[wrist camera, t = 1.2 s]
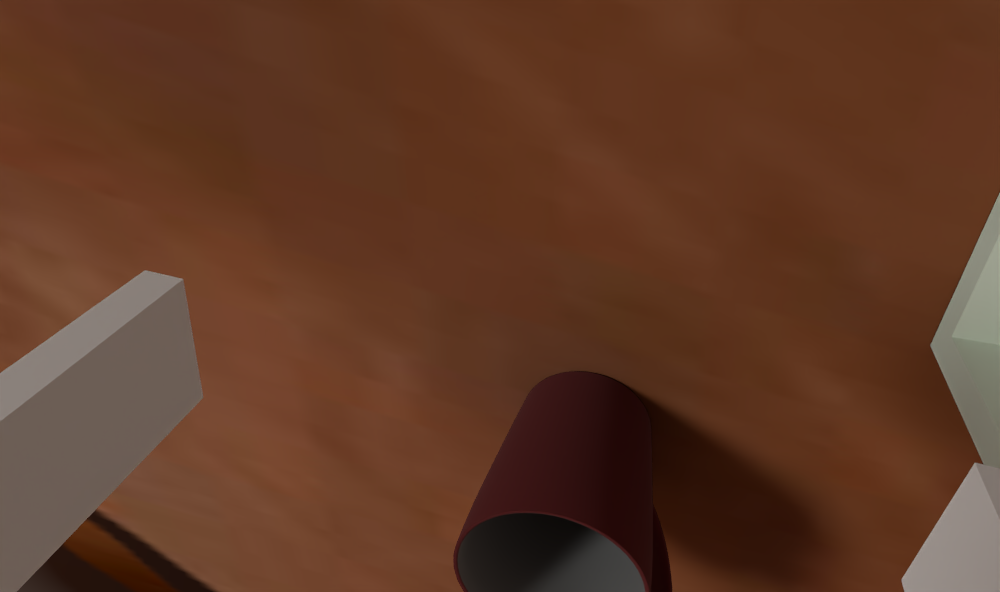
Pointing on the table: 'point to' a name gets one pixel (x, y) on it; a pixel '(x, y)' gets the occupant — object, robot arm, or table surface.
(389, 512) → the table surface
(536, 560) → the mug
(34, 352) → the robot arm
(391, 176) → the table surface
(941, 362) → the holder
